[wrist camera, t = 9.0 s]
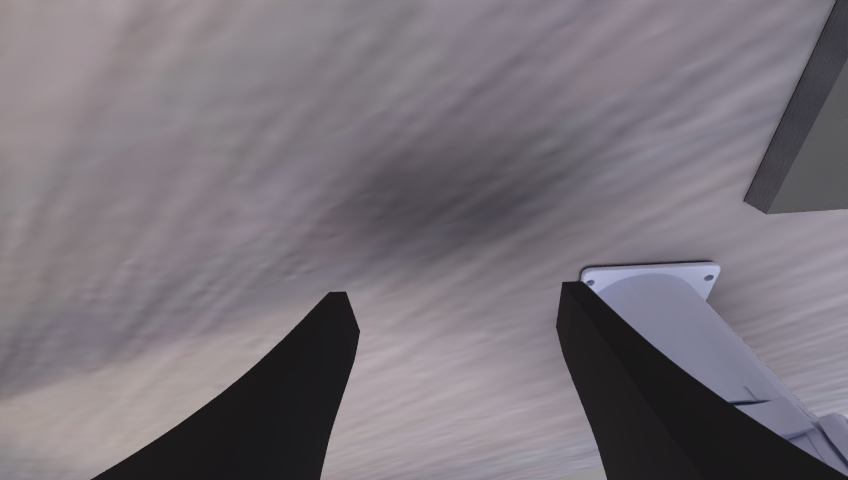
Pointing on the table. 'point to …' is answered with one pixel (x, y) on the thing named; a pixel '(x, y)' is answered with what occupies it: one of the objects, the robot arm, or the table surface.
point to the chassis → (811, 134)
